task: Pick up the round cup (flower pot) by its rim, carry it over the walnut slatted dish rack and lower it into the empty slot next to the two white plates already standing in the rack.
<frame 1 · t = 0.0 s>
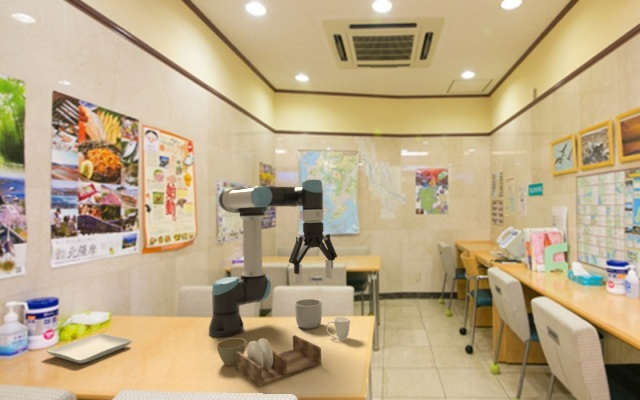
hand: (314, 280, 129), 28 cm above the table, fingers open, 13 cm apart
plates: (259, 355, 117), point 6 cm above the table
cup: (338, 338, 147), on the table
planter: (309, 326, 164), on the table
salad plate: (91, 353, 139), on the table
rack: (279, 367, 121), on the table
flower pot: (231, 363, 126), on the table
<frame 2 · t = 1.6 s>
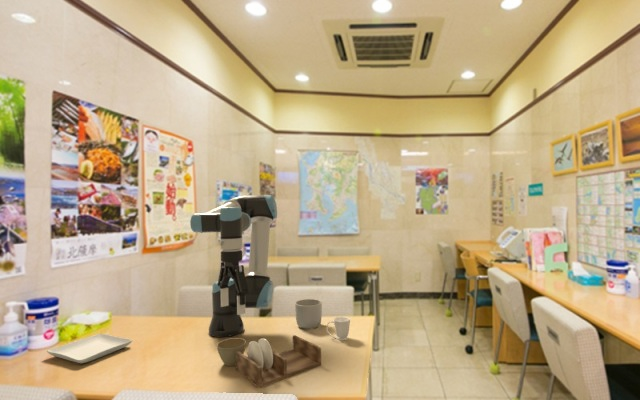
hand: (232, 310, 126), 19 cm above the table, fingers open, 13 cm apart
nothing on the table moved.
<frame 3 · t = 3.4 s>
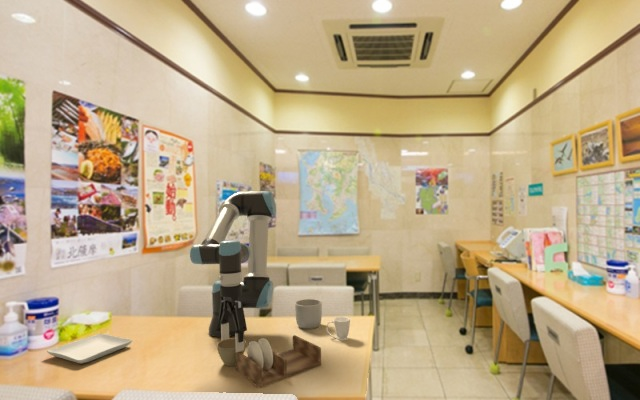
hand: (232, 346, 125), 6 cm above the table, fingers open, 12 cm apart
nothing on the table moved.
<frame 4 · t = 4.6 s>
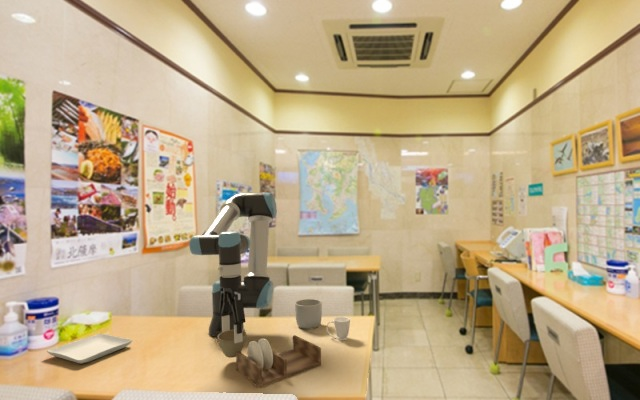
hand: (232, 337, 126), 9 cm above the table, fingers closed on flower pot, 10 cm apart
flower pot: (232, 355, 127), point 2 cm above the table, touching gripper
everything else where it was.
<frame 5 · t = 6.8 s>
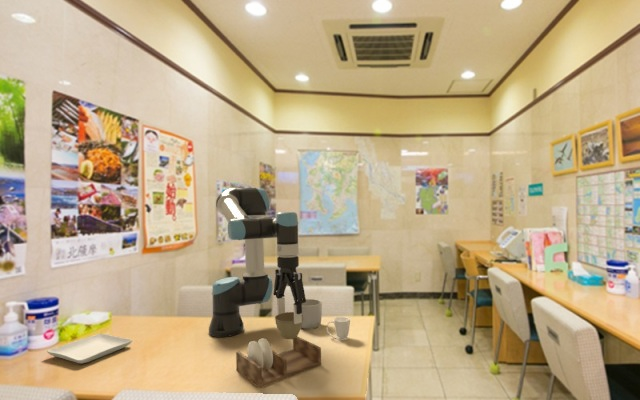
hand: (289, 319, 124), 15 cm above the table, fingers closed on flower pot, 10 cm apart
flower pot: (289, 337, 124), point 9 cm above the table, touching gripper
everything else where it was.
when the fingers open (8 cm above the table, at t = 9.0 s): flower pot stays where it is, resting on rack.
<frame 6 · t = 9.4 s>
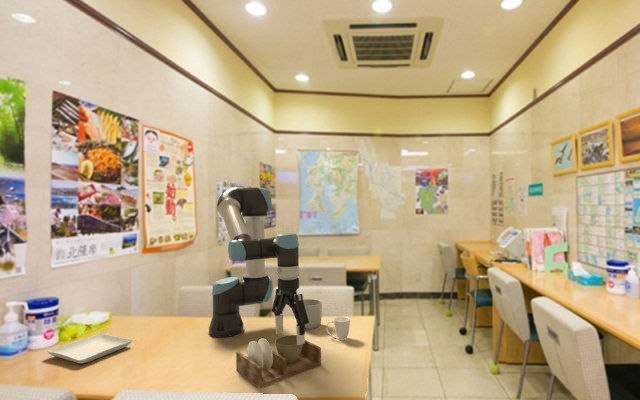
hand: (289, 338, 124), 9 cm above the table, fingers open, 13 cm apart
flower pot: (289, 361, 124), point 1 cm above the table, touching rack
everything else where it was.
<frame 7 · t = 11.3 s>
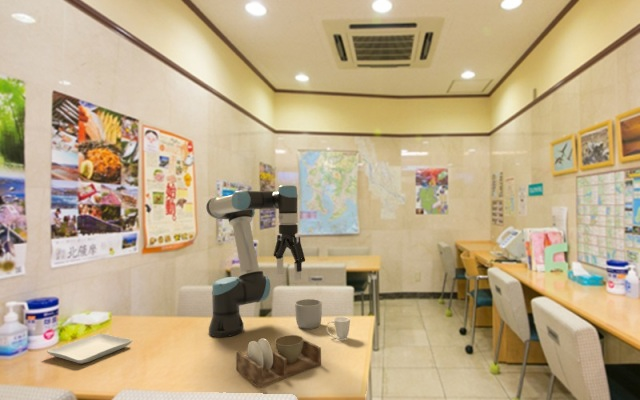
hand: (288, 277, 142), 27 cm above the table, fingers open, 13 cm apart
nothing on the table moved.
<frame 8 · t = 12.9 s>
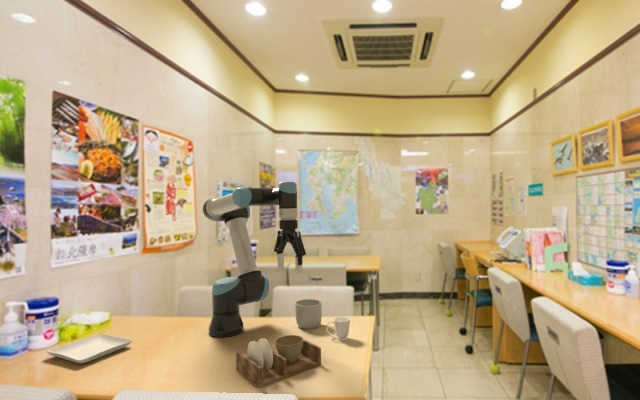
hand: (289, 271, 145), 29 cm above the table, fingers open, 13 cm apart
nothing on the table moved.
at the end: flower pot inside the target area on the rack (0.3 cm from its centre), point 0.8 cm above the rack's base; flower pot tilted 0°; the gripper is holding nothing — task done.
